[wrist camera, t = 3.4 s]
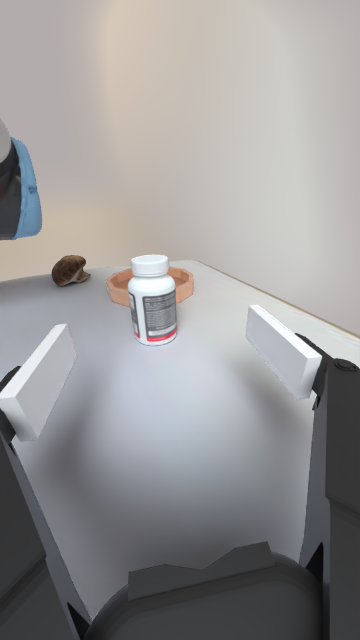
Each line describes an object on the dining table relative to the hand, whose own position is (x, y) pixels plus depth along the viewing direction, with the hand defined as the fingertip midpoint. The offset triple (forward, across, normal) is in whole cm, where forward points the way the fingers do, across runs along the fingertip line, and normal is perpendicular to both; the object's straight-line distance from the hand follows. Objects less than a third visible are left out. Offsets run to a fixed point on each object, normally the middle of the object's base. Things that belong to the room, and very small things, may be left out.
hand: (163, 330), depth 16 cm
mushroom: (+34, -17, -5) cm, 38 cm away
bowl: (+26, -1, -6) cm, 27 cm away
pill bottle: (+10, -1, -6) cm, 12 cm away
